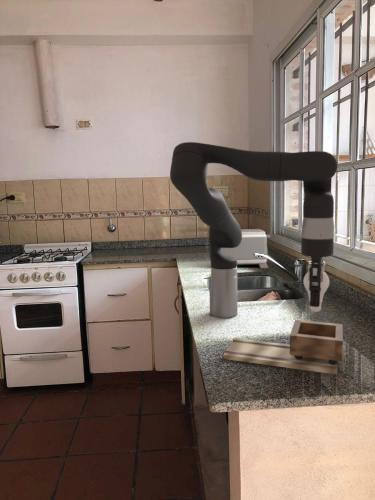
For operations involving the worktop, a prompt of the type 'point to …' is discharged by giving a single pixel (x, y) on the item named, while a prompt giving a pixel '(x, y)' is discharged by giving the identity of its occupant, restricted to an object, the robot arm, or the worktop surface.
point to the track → (275, 356)
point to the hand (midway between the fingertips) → (315, 302)
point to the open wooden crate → (317, 340)
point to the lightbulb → (323, 285)
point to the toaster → (250, 248)
